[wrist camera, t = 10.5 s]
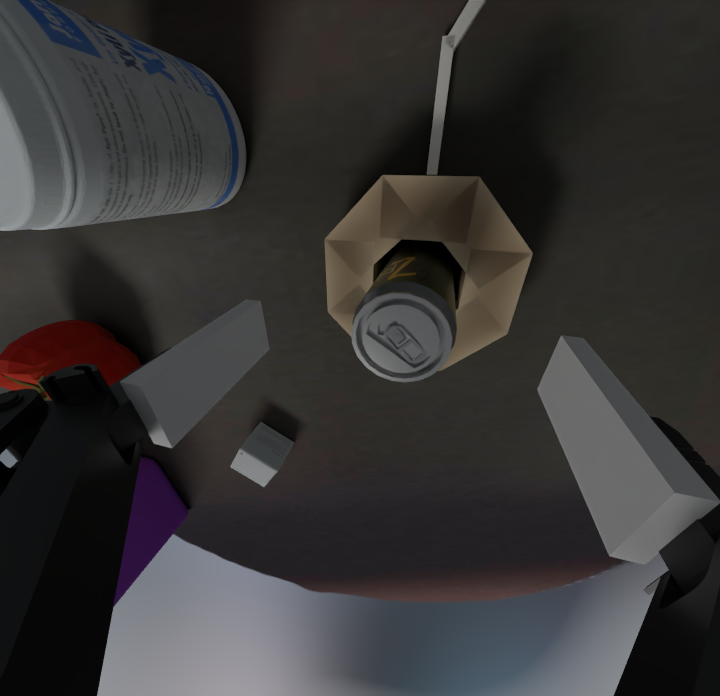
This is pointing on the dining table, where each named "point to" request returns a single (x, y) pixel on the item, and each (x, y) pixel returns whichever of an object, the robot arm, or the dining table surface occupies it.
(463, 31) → the drinking straw
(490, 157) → the dining table surface
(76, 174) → the supplement tub
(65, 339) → the tomato
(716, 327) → the dining table surface
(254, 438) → the small box
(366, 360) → the beer can
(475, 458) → the dining table surface
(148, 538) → the shopping bag
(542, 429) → the dining table surface
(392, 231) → the tan octagonal bowl
